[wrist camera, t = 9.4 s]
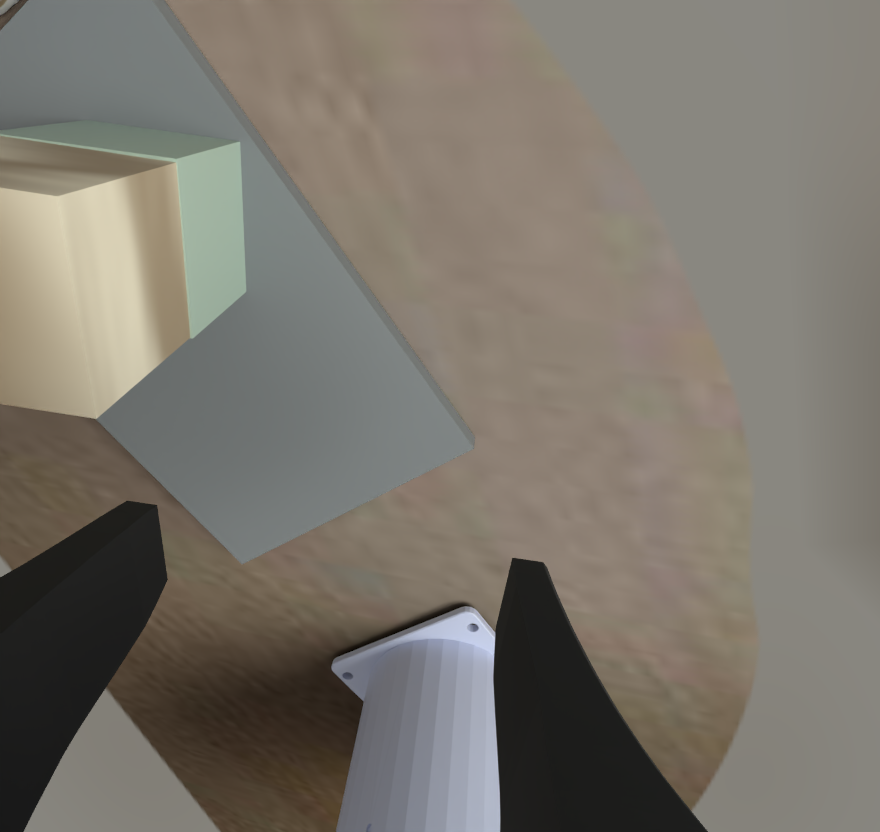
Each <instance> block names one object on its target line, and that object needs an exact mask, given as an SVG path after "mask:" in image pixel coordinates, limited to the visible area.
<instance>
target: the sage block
mask: <svg viewBox="0 0 880 832" xmlns="http://www.w3.org/2000/svg"><path fill="white" fill-rule="evenodd" d="M0 136H5V137H12V138H18V139H25V140H32V141H38V142H45V143H51V144H58V145H64V146H71V147H78V148H84V149H91V150H97V151H104V152H111V153H117V154H124V155H130V156H137V157H143V158H150V159H157V160H163V161H170V162H176V166H177V178H178V191H179V203H180V216H181V228H182V240H183V253H184V265H185V278H186V290H187V303H188V315H189V328H190V338H192V339H193V338H194V337H195V336H196V335H198V334H199V333H200V332H201V331H202V330H203V329H204V328H206V327H207V326H208V325H209V324H210V323H211V322H212V321H213V320H215V319H216V318H217V317H218V316H219V315H220V314H221V313H223V312H224V311H225V310H226V309H227V308H228V307H229V306H231V305H232V304H233V303H234V302H235V301H236V300H237V299H239V298H240V297H241V296H242V295H243V294H244V293H245V292H246V272H245V248H244V223H243V199H242V175H241V150H240V141H233V140H226V139H219V138H212V137H205V136H198V135H190V134H183V133H176V132H169V131H162V130H154V129H147V128H140V127H133V126H126V125H119V124H111V123H104V122H97V121H90V120H83V121H74V122H66V123H58V124H49V125H41V126H33V127H25V128H16V129H8V130H0Z"/></svg>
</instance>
